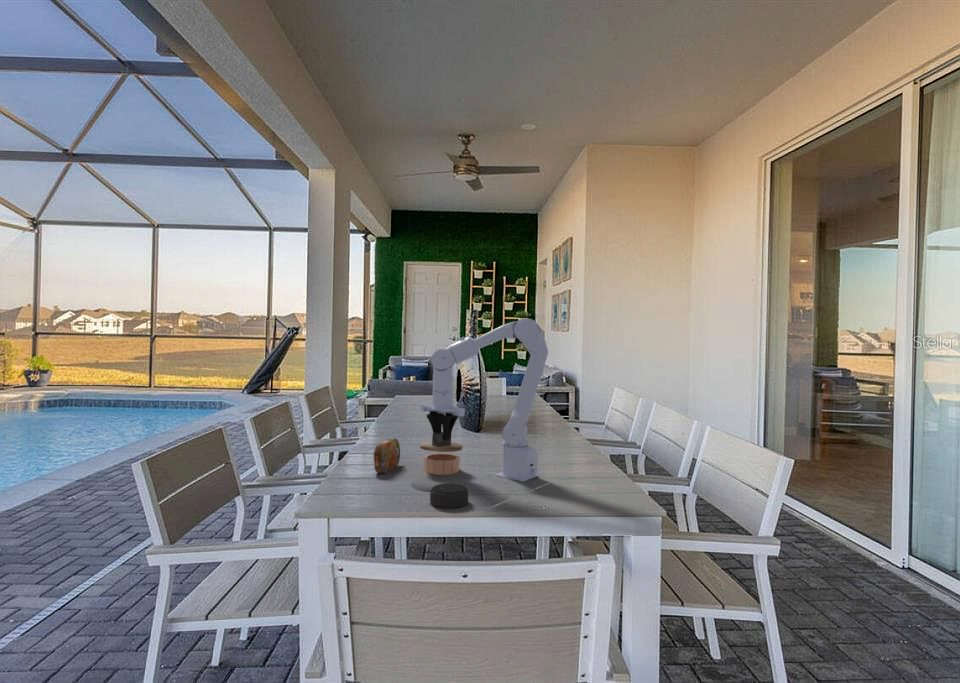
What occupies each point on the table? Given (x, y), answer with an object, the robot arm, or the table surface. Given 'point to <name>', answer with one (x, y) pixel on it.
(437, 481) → the coaster
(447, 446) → the lid
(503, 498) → the table surface
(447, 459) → the bowl
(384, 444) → the tin
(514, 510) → the table surface
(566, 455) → the table surface
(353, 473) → the table surface
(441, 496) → the smart speaker
